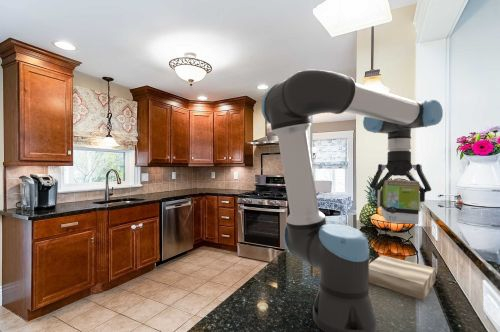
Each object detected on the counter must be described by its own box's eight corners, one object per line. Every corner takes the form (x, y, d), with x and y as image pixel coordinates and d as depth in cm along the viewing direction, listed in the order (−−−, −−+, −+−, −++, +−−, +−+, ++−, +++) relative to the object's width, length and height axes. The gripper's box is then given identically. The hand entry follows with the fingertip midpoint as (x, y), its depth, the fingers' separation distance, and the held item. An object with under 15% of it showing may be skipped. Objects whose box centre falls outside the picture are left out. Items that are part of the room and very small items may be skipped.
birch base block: (423, 301, 72) (423, 284, 72) (364, 282, 84) (364, 267, 84) (435, 282, 84) (435, 268, 84) (381, 267, 96) (381, 255, 96)
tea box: (420, 225, 82) (420, 181, 82) (386, 222, 86) (386, 180, 86) (409, 217, 96) (409, 179, 96) (380, 215, 100) (381, 178, 100)
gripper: (441, 150, 85) (441, 212, 85) (368, 152, 103) (368, 204, 102) (438, 148, 80) (437, 214, 80) (361, 151, 97) (360, 205, 97)
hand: (398, 208), depth 91 cm, fingers closed on tea box, 12 cm apart
